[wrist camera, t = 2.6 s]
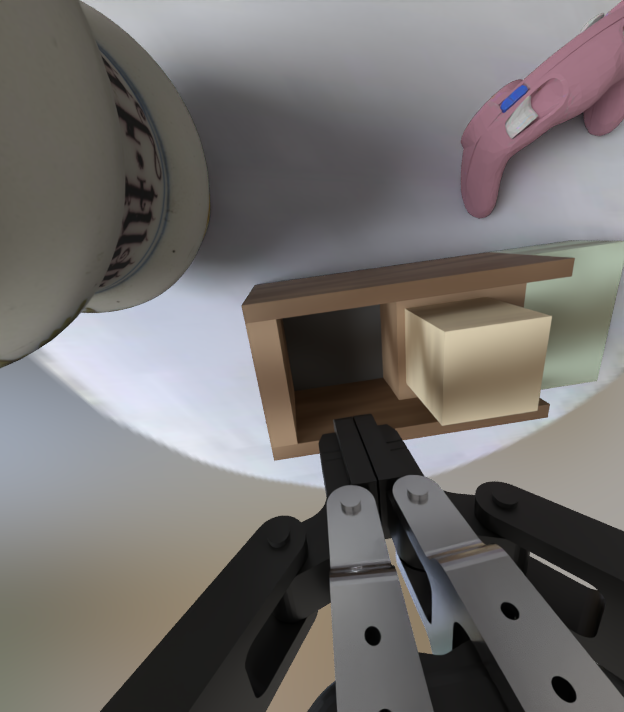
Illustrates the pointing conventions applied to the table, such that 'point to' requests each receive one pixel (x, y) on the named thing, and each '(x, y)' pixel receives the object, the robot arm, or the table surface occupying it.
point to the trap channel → (387, 334)
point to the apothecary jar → (88, 173)
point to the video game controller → (546, 106)
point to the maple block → (475, 358)
